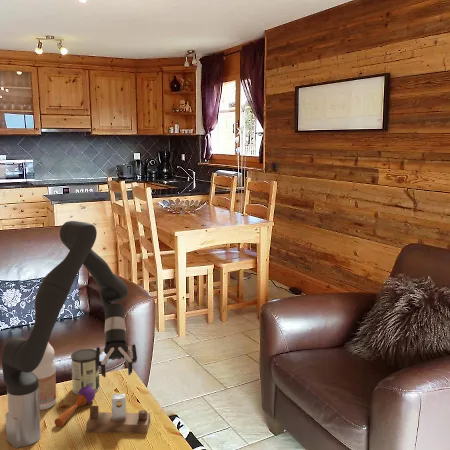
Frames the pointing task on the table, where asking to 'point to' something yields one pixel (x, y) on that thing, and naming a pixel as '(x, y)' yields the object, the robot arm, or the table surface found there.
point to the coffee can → (84, 370)
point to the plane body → (117, 422)
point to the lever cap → (118, 407)
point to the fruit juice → (46, 379)
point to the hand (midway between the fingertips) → (117, 375)
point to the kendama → (76, 404)
